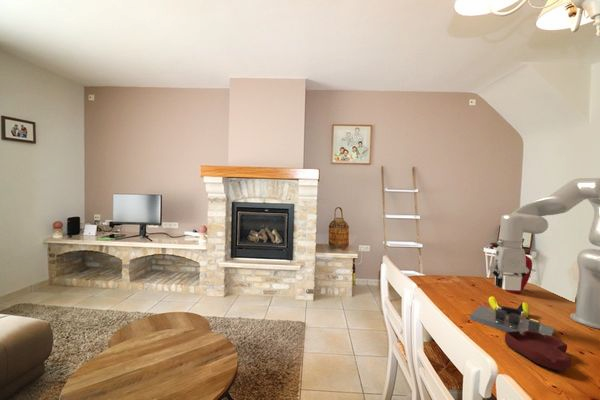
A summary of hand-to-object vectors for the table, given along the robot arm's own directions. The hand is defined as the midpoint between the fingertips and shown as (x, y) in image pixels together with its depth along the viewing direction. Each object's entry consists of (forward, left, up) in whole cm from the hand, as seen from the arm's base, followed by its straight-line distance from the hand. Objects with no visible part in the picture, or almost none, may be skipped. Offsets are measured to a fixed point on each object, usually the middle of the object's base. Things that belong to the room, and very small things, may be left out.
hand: (507, 286), depth 114 cm
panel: (-2, +2, -15) cm, 15 cm away
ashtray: (-12, +20, -16) cm, 28 cm away
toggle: (-10, +3, -13) cm, 17 cm away
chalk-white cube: (0, 0, 0) cm, 0 cm away
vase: (+6, -48, -15) cm, 51 cm away
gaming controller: (+1, -12, -16) cm, 19 cm away
